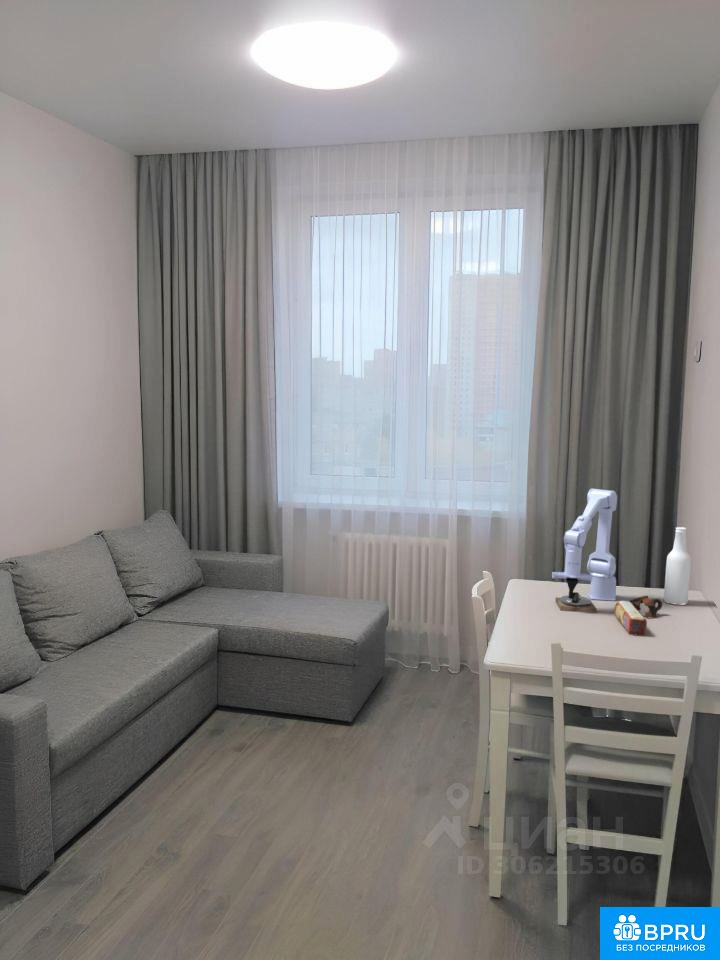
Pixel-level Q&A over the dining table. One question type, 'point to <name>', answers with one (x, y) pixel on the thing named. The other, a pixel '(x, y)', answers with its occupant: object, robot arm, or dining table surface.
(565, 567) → the robot arm
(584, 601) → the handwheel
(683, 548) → the alcohol
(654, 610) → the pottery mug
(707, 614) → the dining table surface
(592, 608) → the walnut base
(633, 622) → the snack package
